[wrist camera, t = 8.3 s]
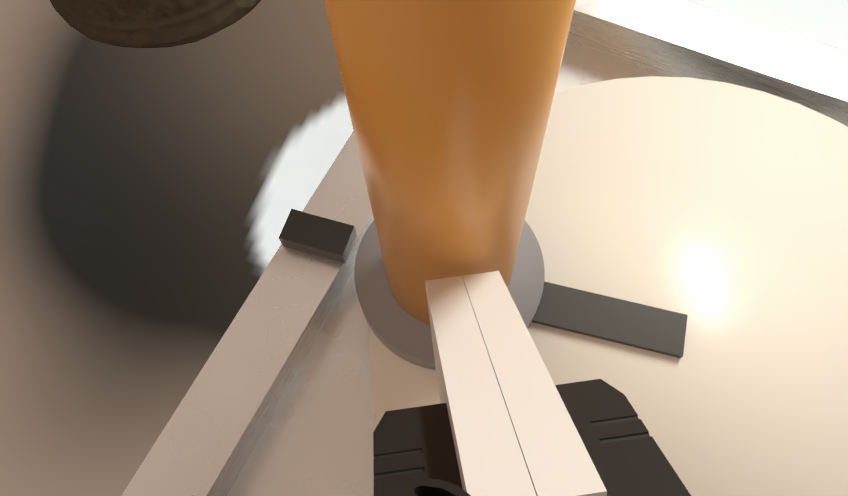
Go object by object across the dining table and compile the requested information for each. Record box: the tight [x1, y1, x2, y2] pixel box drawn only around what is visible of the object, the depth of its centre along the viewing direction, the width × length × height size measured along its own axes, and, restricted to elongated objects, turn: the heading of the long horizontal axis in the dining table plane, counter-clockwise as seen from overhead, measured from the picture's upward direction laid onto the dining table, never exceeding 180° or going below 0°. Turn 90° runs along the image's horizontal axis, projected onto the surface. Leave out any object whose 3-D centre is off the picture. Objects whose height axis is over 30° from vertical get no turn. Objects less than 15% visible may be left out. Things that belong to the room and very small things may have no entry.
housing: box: [122, 0, 848, 496], centre depth 20 cm, size 24×24×4 cm
